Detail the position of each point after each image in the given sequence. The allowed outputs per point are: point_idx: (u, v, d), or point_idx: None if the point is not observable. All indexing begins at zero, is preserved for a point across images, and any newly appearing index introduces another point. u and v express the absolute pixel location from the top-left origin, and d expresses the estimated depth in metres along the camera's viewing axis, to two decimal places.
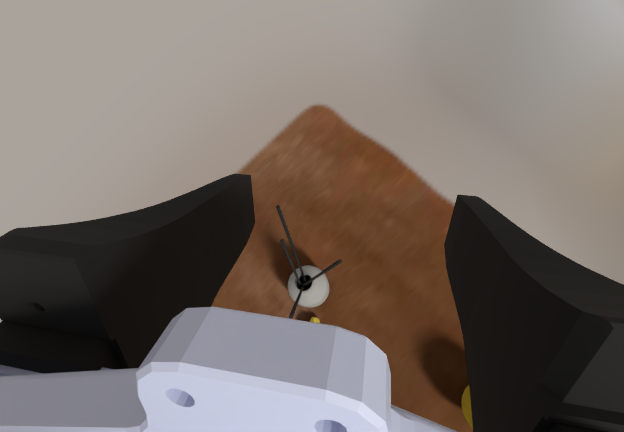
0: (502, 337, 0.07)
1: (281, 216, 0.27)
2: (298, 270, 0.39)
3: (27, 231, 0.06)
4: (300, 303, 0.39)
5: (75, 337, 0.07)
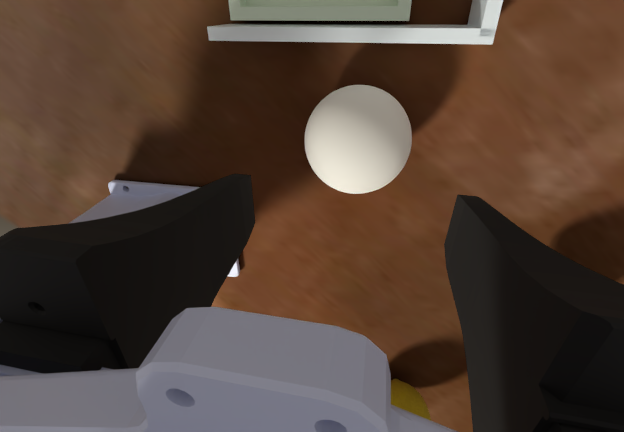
0: (502, 337, 0.07)
1: None
2: None
3: (27, 231, 0.06)
4: None
5: (75, 337, 0.07)
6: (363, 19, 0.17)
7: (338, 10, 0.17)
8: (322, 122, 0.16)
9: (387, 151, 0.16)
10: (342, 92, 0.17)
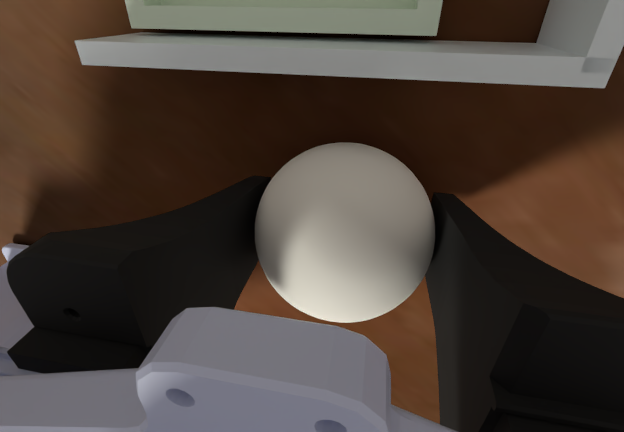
0: (464, 331, 0.07)
1: None
2: None
3: (61, 236, 0.06)
4: None
5: (110, 343, 0.06)
6: (355, 31, 0.09)
7: (310, 14, 0.09)
8: (277, 217, 0.09)
9: (395, 276, 0.09)
10: (315, 161, 0.09)
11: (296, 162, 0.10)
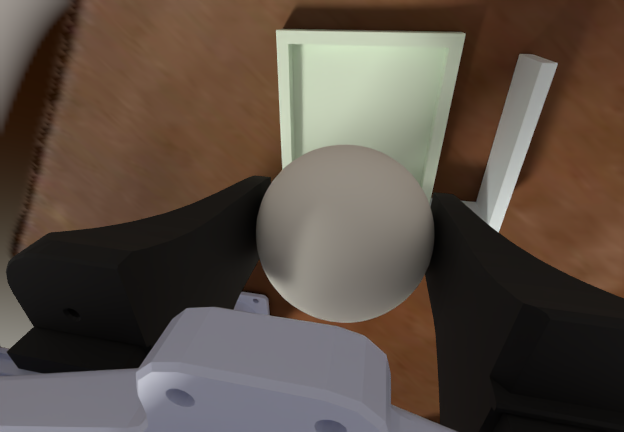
0: (464, 331, 0.07)
1: None
2: None
3: (61, 236, 0.06)
4: None
5: (109, 343, 0.06)
6: None
7: None
8: (275, 220, 0.09)
9: (390, 276, 0.09)
10: (312, 164, 0.09)
11: (294, 165, 0.10)
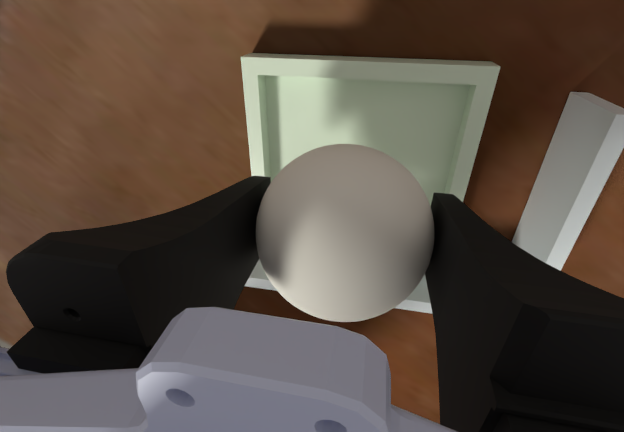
0: (464, 331, 0.07)
1: None
2: None
3: (61, 236, 0.06)
4: None
5: (109, 343, 0.06)
6: None
7: None
8: (275, 219, 0.09)
9: (390, 276, 0.09)
10: (311, 163, 0.09)
11: (294, 164, 0.10)
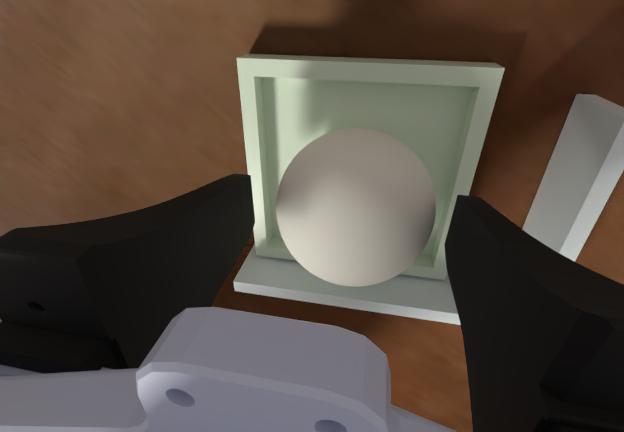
0: (502, 337, 0.07)
1: None
2: None
3: (27, 231, 0.06)
4: None
5: (75, 337, 0.07)
6: None
7: None
8: (301, 195, 0.10)
9: (405, 238, 0.10)
10: (329, 145, 0.11)
11: (312, 147, 0.11)
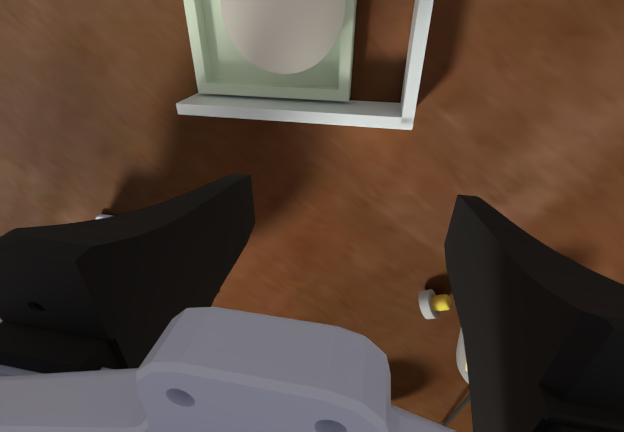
0: (502, 337, 0.07)
1: None
2: None
3: (27, 231, 0.06)
4: None
5: (75, 337, 0.07)
6: (310, 98, 0.20)
7: (289, 90, 0.20)
8: None
9: None
10: None
11: None
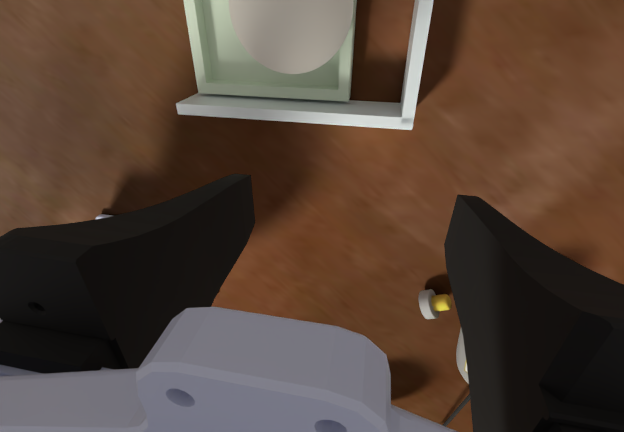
0: (502, 337, 0.07)
1: None
2: None
3: (27, 231, 0.06)
4: None
5: (75, 337, 0.07)
6: (310, 98, 0.20)
7: (289, 90, 0.20)
8: None
9: None
10: None
11: None
